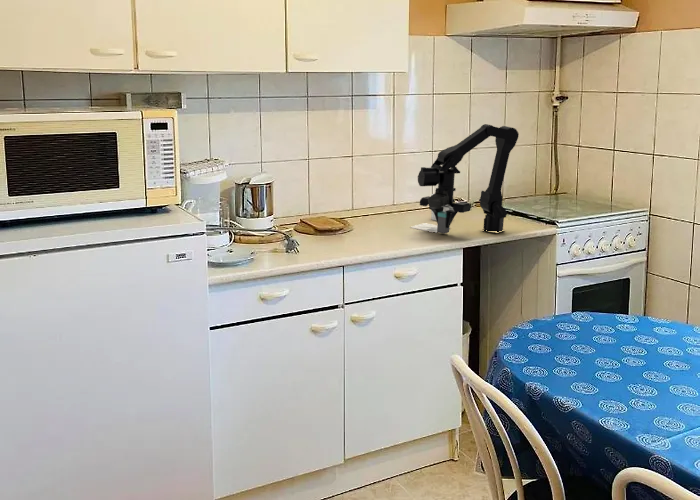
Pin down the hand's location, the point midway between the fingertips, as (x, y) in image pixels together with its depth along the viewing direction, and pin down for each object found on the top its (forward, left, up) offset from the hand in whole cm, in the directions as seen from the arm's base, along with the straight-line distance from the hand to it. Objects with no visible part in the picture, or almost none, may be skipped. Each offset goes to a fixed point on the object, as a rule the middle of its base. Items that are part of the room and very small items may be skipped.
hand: (443, 227), depth 283 cm
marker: (0, 0, -2) cm, 2 cm away
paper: (+9, -5, -3) cm, 11 cm away
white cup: (+15, -21, -3) cm, 26 cm away
